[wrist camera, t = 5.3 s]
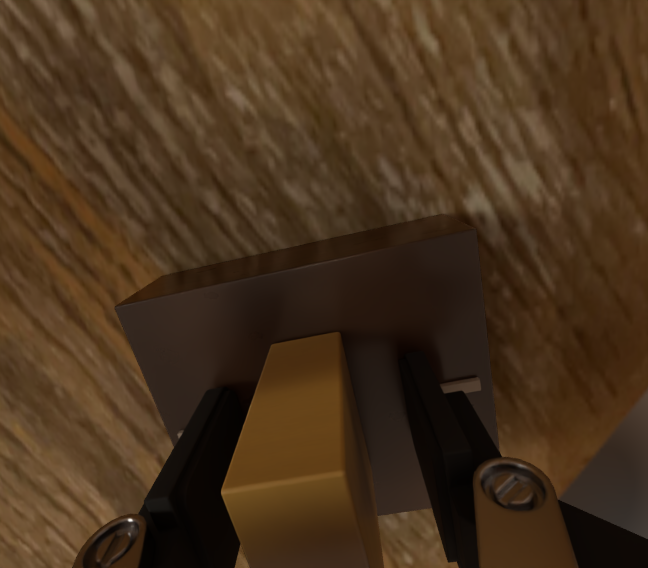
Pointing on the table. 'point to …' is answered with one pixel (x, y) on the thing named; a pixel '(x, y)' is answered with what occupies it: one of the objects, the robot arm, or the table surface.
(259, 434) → the thumbturn
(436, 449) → the robot arm
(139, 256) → the table surface
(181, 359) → the plate
